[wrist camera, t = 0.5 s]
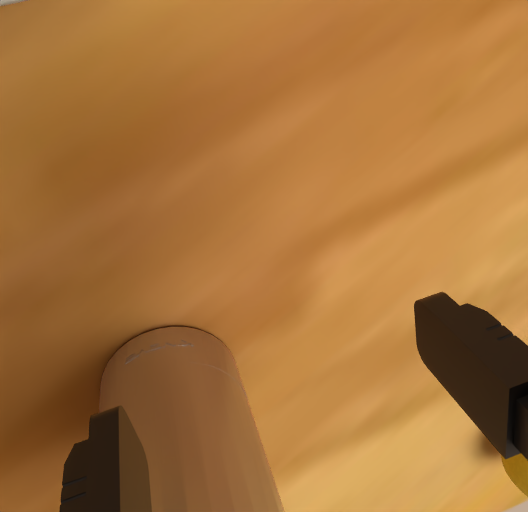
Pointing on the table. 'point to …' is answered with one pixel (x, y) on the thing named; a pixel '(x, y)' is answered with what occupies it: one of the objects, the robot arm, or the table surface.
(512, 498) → the table surface
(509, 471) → the lemon
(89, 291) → the table surface
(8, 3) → the canister
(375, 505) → the table surface
